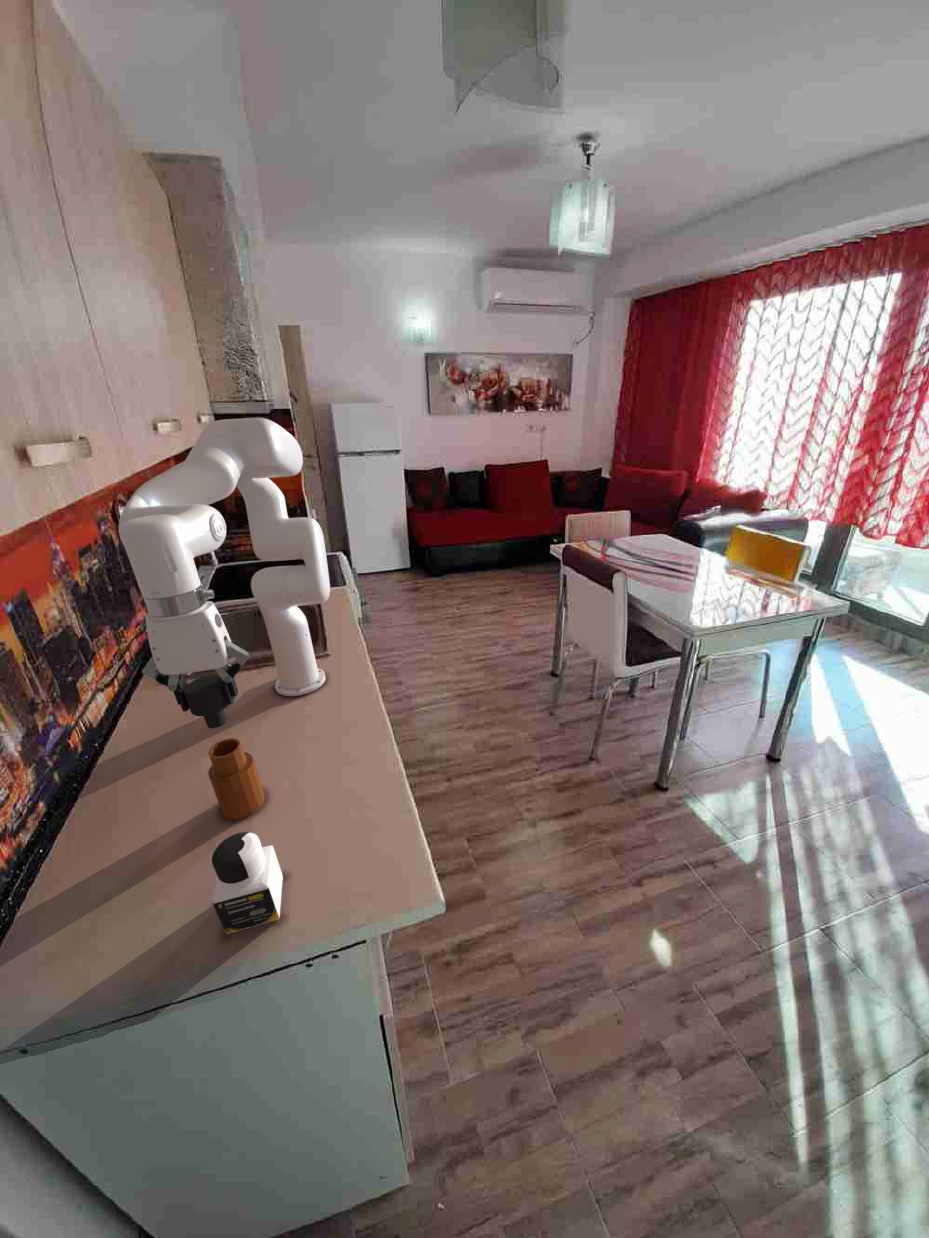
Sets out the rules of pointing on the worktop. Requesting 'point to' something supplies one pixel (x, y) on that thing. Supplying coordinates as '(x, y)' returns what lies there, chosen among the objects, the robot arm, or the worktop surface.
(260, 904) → the medicine bottle
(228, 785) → the amber bottle
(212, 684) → the stopper
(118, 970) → the worktop surface
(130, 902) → the worktop surface
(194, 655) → the robot arm
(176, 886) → the worktop surface
